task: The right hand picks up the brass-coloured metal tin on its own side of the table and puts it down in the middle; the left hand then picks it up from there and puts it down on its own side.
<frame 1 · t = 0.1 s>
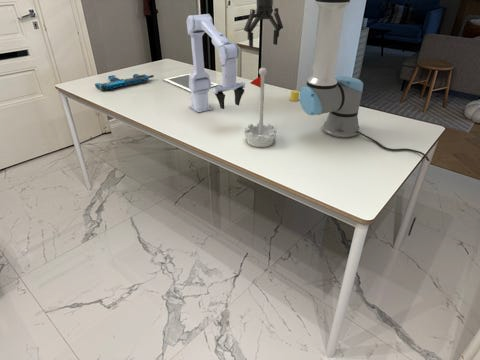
left hand: (229, 106, 147), 10 cm above the table, tool pointing down, fingers open, 7 cm apart
right hand: (263, 45, 167), 28 cm above the table, tool pointing down, fingers open, 13 cm apart
submachine gun: (124, 82, 209), on the table
flag stand: (260, 141, 141), on the table
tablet: (190, 82, 208), on the table
tin: (294, 99, 183), on the table
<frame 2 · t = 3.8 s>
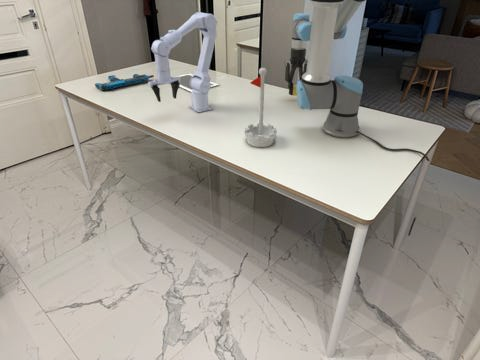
left hand: (167, 99, 156), 9 cm above the table, tool pointing down, fingers open, 7 cm apart
right hand: (294, 93, 181), 3 cm above the table, tool pointing down, fingers closed on tin, 4 cm apart
tin: (294, 94, 181), point 3 cm above the table, touching right hand
everything else where it was.
when the right hand's fingers open (1 cm above the table, at t = 9.1 s): tin stays where it is, on the table.
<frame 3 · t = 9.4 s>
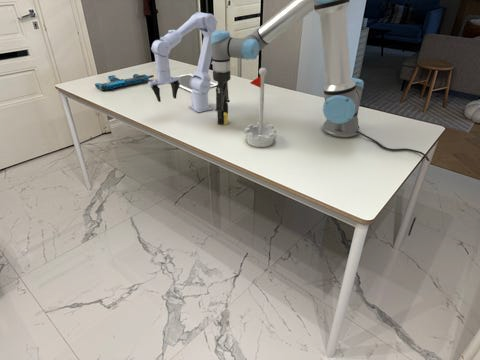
left hand: (167, 99, 156), 9 cm above the table, tool pointing down, fingers open, 7 cm apart
right hand: (223, 120, 156), 2 cm above the table, tool pointing down, fingers open, 9 cm apart
tin: (223, 123, 157), on the table
everything else where it was.
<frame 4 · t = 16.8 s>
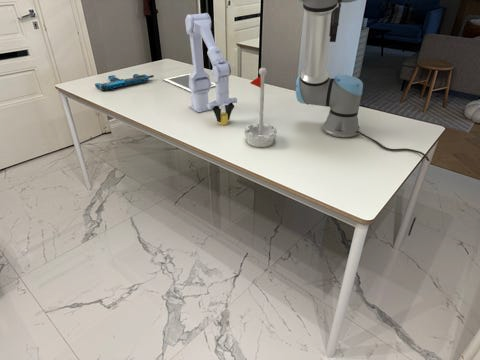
left hand: (223, 120, 156), 1 cm above the table, tool pointing down, fingers closed on tin, 4 cm apart
right hand: (331, 39, 166), 31 cm above the table, tool pointing down, fingers open, 13 cm apart
tin: (223, 123, 157), on the table, touching left hand
everything else where it was.
when the left hand's fingers open (2 cm above the table, at t = 20.9 s): tin drops 1 cm, on the table.
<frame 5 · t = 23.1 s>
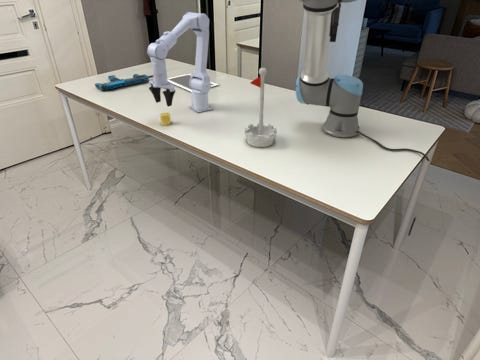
left hand: (163, 103, 152), 9 cm above the table, tool pointing down, fingers open, 7 cm apart
right hand: (331, 39, 166), 31 cm above the table, tool pointing down, fingers open, 13 cm apart
tin: (166, 123, 157), on the table
everything else where it was.
at the end: tin inside the target area (0.1 cm from its centre), on the table; tin tilted 0°; the two hands never held the tin at the same time; the left hand is holding nothing; the right hand is holding nothing; tin at rest at the end (0.0 cm/s) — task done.
